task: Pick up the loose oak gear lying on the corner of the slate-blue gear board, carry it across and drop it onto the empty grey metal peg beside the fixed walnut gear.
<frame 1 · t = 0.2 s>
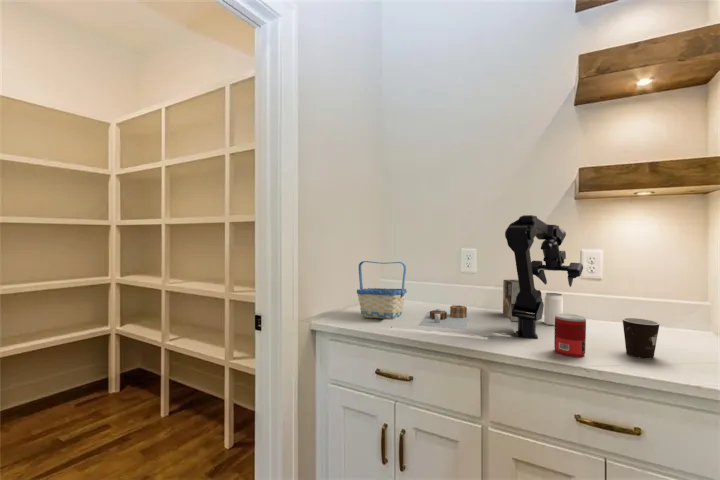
hand: (558, 285, 147), 15 cm above the worktop, tool tilted 30°, fingers open, 9 cm apart
gear board: (445, 322, 143), on the worktop
walnut gear: (438, 317, 146), resting on gear board
can: (553, 324, 143), on the worktop
coffee mug: (634, 355, 106), on the worktop
canned food: (569, 353, 107), on the worktop
oak gear: (458, 316, 149), point 1 cm above the worktop, touching gear board
coffee box: (514, 319, 151), on the worktop
basket: (380, 317, 151), on the worktop
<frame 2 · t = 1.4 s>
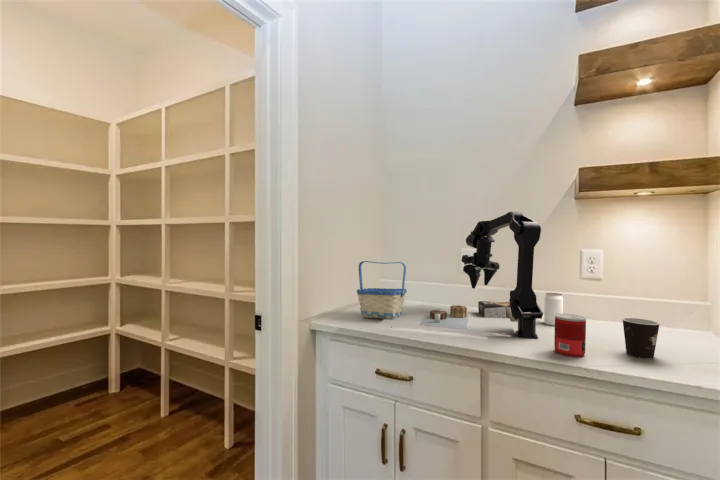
hand: (479, 286, 155), 13 cm above the worktop, tool pointing down, fingers open, 9 cm apart
coffee box: (520, 311, 152), point 3 cm above the worktop
everything else where it was.
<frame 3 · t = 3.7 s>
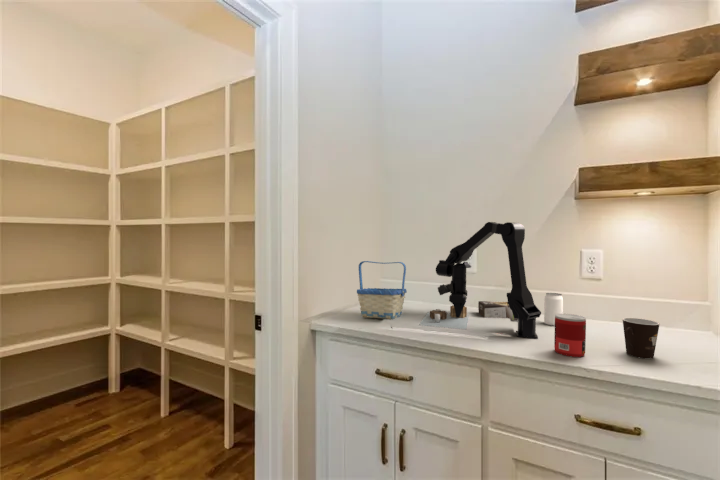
hand: (458, 315, 149), 1 cm above the worktop, tool pointing down, fingers closed on oak gear, 6 cm apart
oak gear: (458, 316, 149), point 1 cm above the worktop, touching gear board, gripper
everything else where it was.
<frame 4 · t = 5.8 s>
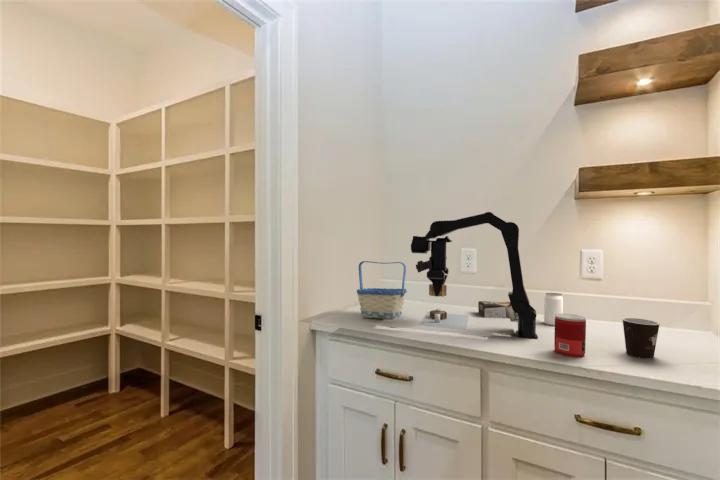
hand: (437, 294, 138), 12 cm above the worktop, tool pointing down, fingers closed on oak gear, 6 cm apart
oak gear: (437, 295, 139), point 12 cm above the worktop, touching gripper
everything else where it was.
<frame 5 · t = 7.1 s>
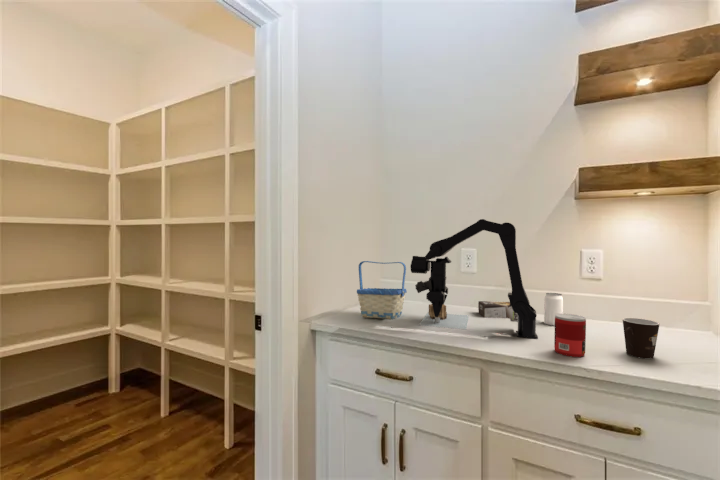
hand: (437, 315, 139), 4 cm above the worktop, tool pointing down, fingers closed on oak gear, 6 cm apart
oak gear: (437, 315, 139), point 4 cm above the worktop, touching gripper
everything else where it was.
when the fingers open (3 cm above the worktop, at t = 8.2 s): oak gear drops 2 cm, resting on gear board.
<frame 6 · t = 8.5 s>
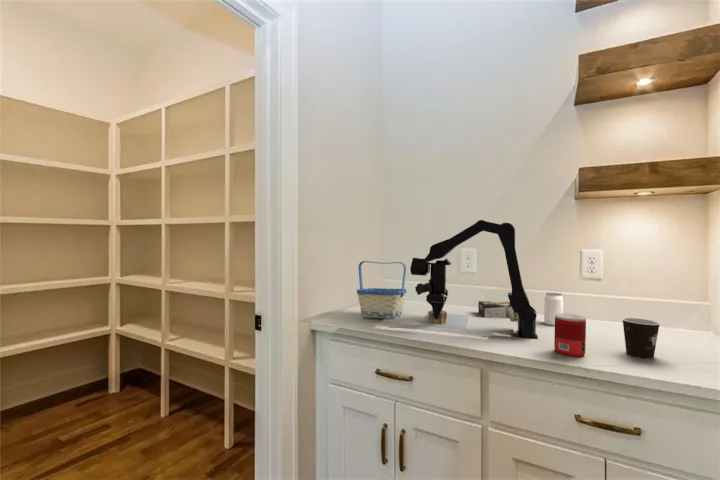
hand: (437, 317, 138), 3 cm above the worktop, tool pointing down, fingers open, 8 cm apart
oak gear: (437, 322, 139), point 1 cm above the worktop, touching gear board
everything else where it was.
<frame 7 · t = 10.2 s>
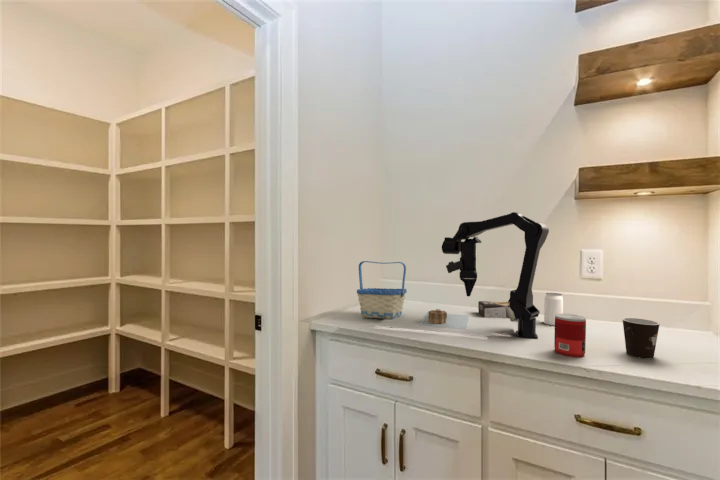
hand: (468, 294, 141), 12 cm above the worktop, tool pointing down, fingers open, 9 cm apart
nothing on the worktop moved.
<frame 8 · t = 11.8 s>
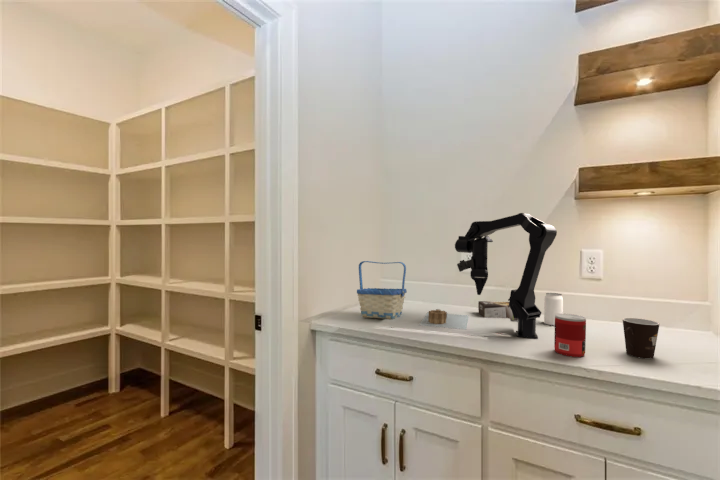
hand: (479, 293, 142), 12 cm above the worktop, tool pointing down, fingers open, 9 cm apart
nothing on the worktop moved.
at the end: oak gear 0.0 cm from the target spot on the gear board, point 1.2 cm above the gear board's base; oak gear tilted 0°; the gripper is holding nothing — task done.
